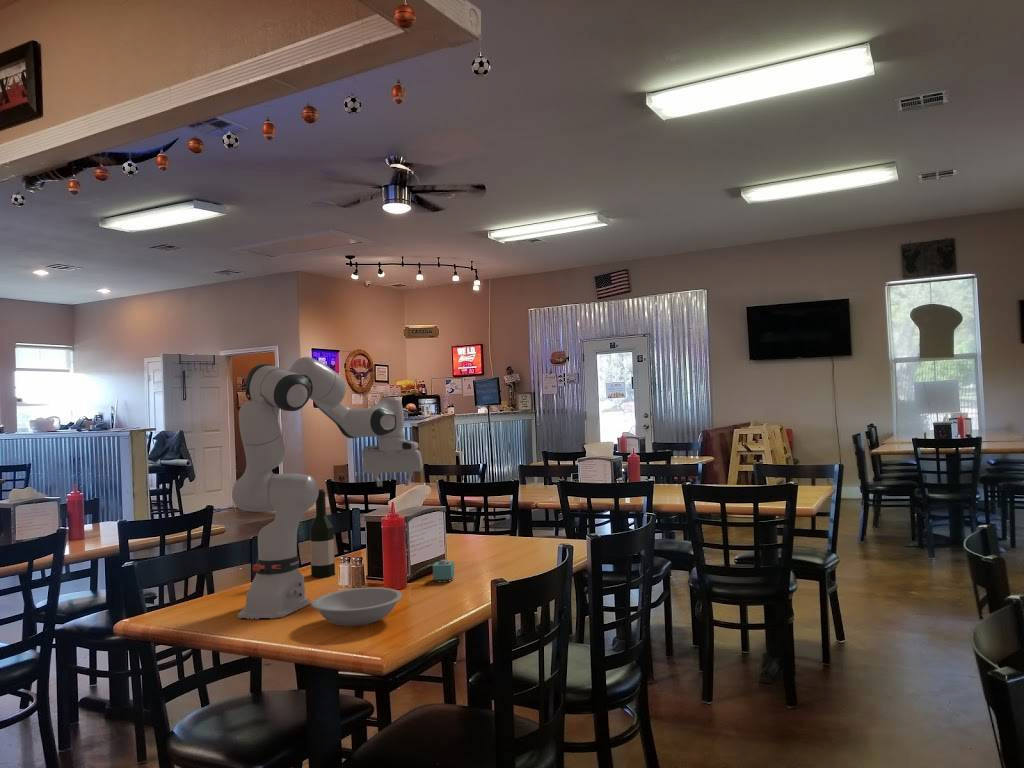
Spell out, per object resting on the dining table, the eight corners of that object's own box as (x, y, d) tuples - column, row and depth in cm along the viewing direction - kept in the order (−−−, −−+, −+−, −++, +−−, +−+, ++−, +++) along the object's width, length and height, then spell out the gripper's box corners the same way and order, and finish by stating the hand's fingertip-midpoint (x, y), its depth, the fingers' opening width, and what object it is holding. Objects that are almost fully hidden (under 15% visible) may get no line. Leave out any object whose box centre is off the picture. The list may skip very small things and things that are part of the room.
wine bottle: (331, 577, 259) (328, 490, 260) (307, 578, 259) (304, 491, 260) (338, 572, 268) (335, 487, 268) (314, 573, 268) (311, 488, 269)
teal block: (451, 579, 244) (450, 565, 245) (433, 579, 245) (432, 565, 245) (454, 574, 250) (453, 561, 251) (436, 575, 251) (435, 561, 251)
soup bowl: (364, 606, 219) (363, 583, 219) (421, 618, 204) (420, 593, 204) (293, 627, 201) (292, 602, 201) (351, 642, 185) (349, 615, 185)
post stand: (451, 582, 245) (450, 562, 245) (433, 582, 245) (432, 562, 245) (454, 577, 250) (453, 558, 251) (436, 578, 251) (435, 558, 251)
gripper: (359, 446, 253) (360, 487, 253) (419, 444, 252) (420, 485, 251) (364, 445, 259) (366, 485, 259) (422, 443, 258) (424, 483, 257)
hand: (393, 485), depth 255 cm, fingers open, 8 cm apart
